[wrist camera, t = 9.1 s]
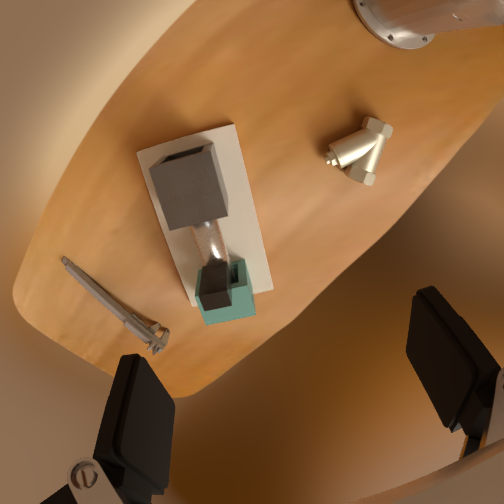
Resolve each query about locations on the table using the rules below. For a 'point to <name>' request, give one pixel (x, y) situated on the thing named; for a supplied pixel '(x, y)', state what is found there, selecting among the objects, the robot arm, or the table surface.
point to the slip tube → (213, 266)
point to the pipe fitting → (360, 150)
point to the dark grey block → (190, 187)
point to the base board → (233, 226)
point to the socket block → (240, 297)
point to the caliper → (120, 310)
